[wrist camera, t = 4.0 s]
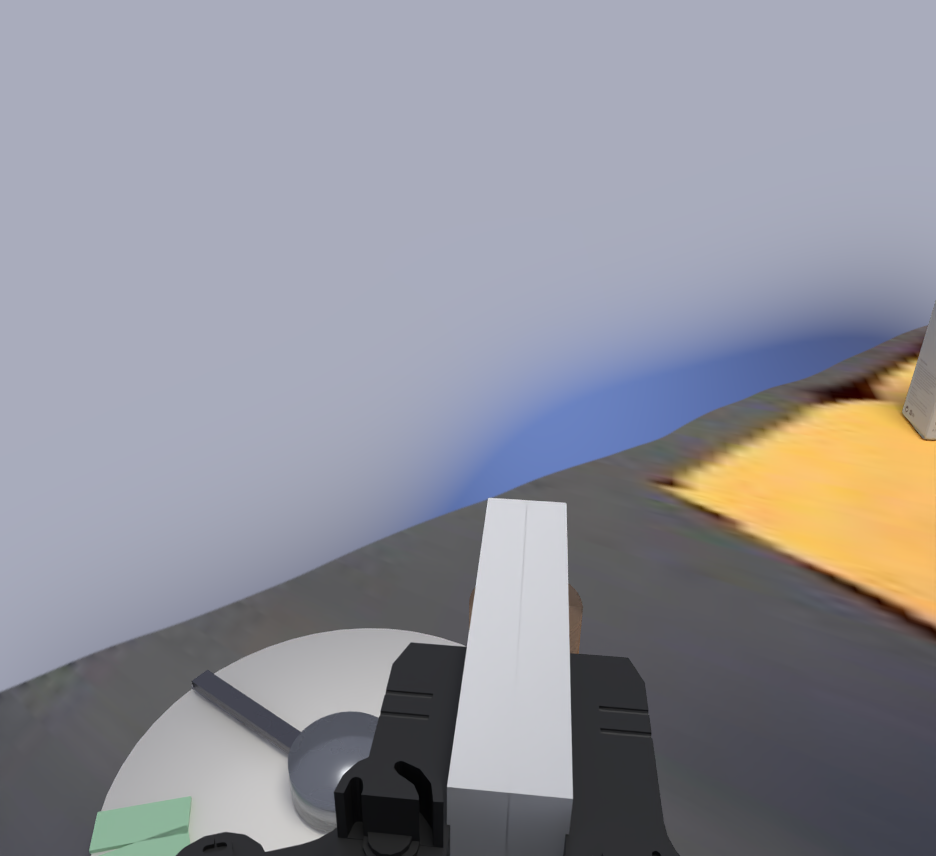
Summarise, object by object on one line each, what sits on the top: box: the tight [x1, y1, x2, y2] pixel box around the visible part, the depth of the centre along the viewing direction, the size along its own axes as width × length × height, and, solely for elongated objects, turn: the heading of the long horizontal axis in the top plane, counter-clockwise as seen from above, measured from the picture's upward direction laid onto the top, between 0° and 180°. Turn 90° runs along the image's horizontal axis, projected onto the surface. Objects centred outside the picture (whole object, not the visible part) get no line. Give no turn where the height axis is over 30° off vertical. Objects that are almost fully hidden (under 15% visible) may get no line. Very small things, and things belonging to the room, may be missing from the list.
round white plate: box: [89, 628, 466, 856], centre depth 37 cm, size 22×22×2 cm
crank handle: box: [192, 583, 583, 833], centre depth 33 cm, size 21×5×15 cm, turn 54°
